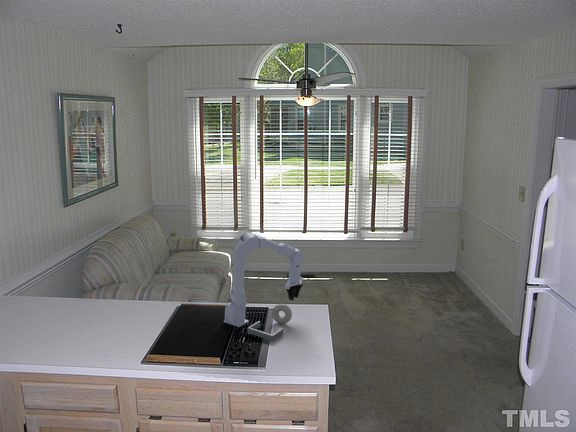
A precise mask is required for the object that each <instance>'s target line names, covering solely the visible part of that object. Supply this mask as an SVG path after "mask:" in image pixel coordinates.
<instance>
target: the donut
mask: <svg viewBox="0 0 576 432" xmlns="http://www.w3.org/2000/svg"><path fill="white" fill-rule="evenodd" d="M280 312H283V313H284V316H281V315H280ZM271 316H272V319H273V320H274V322H276V323H278V324H280V325H285V324H288V323H289V322H290V321H291V319H292V316H293V311H292V309H291V308H290V307H289V306H288V305H287V304H284V303H279V304H276V305H275V306H274V307H272V310H271Z"/></svg>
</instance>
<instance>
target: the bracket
mask: <svg viewBox="0 0 576 432" xmlns="http://www.w3.org/2000/svg"><path fill="white" fill-rule="evenodd" d="M257 328H258V329H257ZM259 328H261V321H260V320H258V321H256V322H254V323H253V324H252V325H249V326H248V327H247V333H248V335H250V334H252V335H251V336H253V335H255V336H254V337H256V336H258V337H257V338H259V337H261V338H260V339H262V338H264V339H263V340H265V339H266V340H265V341H267V342H268V341H269V342H271V343H273V342H275V341H276V340H277V339H279V338H280V337H281V336H284V328H283V327H281V328H280V329H279V330H277V331H276V332H274V333H273V334H271V333H268V332H265V331H263V330H259Z"/></svg>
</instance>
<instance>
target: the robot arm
mask: <svg viewBox="0 0 576 432" xmlns="http://www.w3.org/2000/svg"><path fill="white" fill-rule="evenodd" d="M262 247H265V248H269V249H271V250H273V251H276V254H277V255H279V256H281V257H285V258H286V259H289V270H288V280H287V283H286V284H285V285H284V289H285V291H286V292H287V296H288V299H289V300H290V301H294V300H295V298H296V299H298V297H299V294H300V291H301V289H302V287H304V286H303V285H304V284H303V282H304V277H302V276H301V273H302V262H303V260H304V258H305V256H304V254H303V251H301V250H300V249H298V248H296V247H295V246H293V247H292V246H290V245H288V243H286V242H284V243H283V242H281V243H277V242H274V241H272V240H270V239H268V238H266V237H264V236H261V235H259V234H257V233H252V232H249V231H247V232H246V231H245V232H244V233H243V234H242V235H240V236H239V238H238V241H237V243H236V246H235V247H234V249H233V266H232V267H233V271H232V272H233V273H232V275H233V279H232V282H233V283H232V286H231V290H230V293H229V298H230V300H231V302H228V303H227V304H226V305H225V307H224V320H223V322H224V323H225V324H229V325H232V326H235V327H237V328H240V327H242V326H244V325H246V324H247V323H249V320H248V319H246V308H247V307H246V305H247V303H248V299H247V296H246V290H245V258H246V257H245V256H246V255H247V254H248V253H251V252H253V251H255V250H257V249H258V248H259V249H261V248H262Z"/></svg>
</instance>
